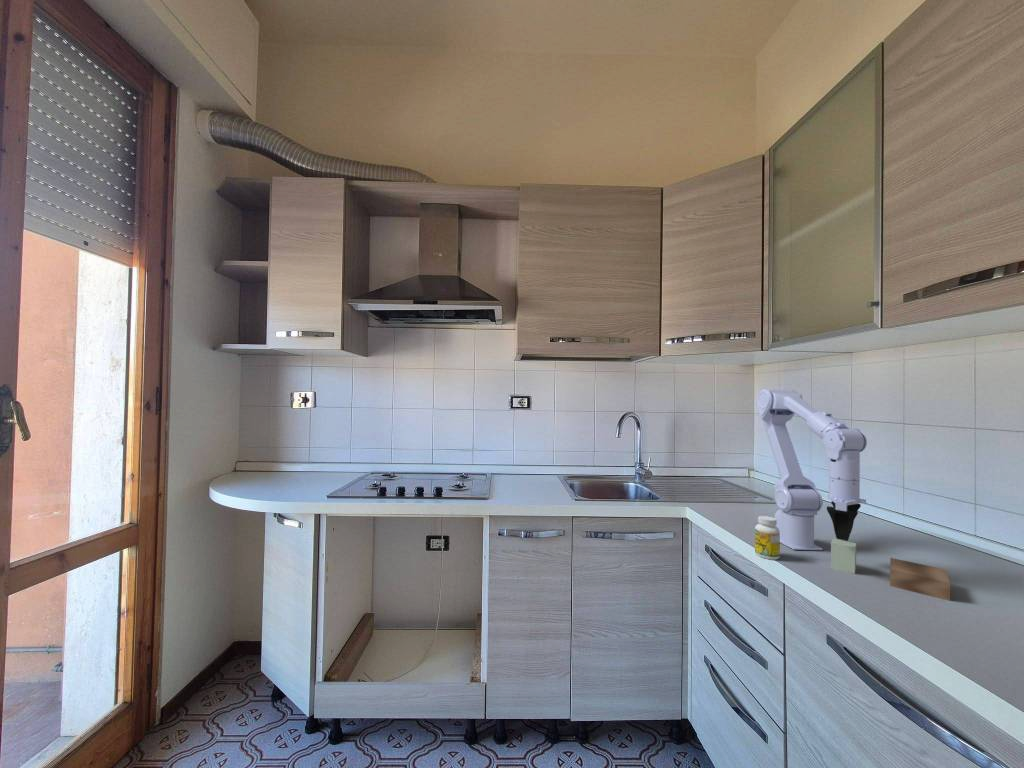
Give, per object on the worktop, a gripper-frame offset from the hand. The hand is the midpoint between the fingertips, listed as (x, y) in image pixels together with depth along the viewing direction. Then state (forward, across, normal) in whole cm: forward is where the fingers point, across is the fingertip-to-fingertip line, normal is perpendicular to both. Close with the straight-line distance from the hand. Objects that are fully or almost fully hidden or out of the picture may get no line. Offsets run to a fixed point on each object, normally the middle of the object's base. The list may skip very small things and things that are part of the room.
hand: (843, 535), depth 99 cm
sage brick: (+8, 0, 0) cm, 8 cm away
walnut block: (+8, 0, -13) cm, 15 cm away
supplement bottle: (+8, -5, +15) cm, 18 cm away
